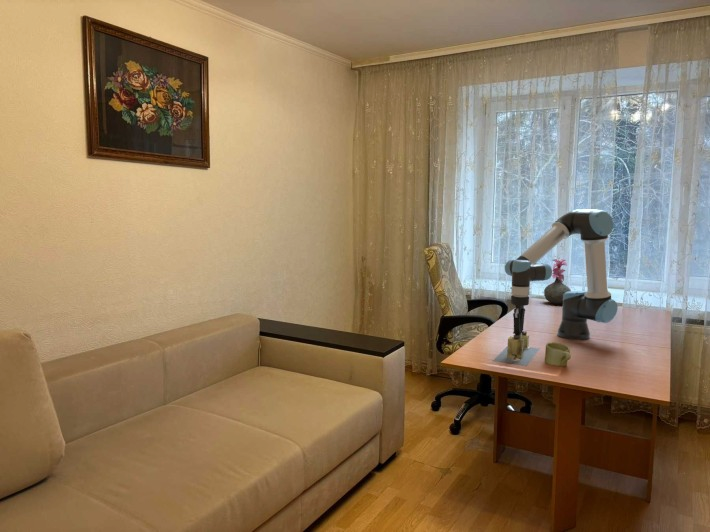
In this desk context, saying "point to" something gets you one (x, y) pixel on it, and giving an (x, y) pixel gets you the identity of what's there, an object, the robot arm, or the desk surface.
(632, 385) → the desk surface
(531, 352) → the board
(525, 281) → the robot arm
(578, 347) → the desk surface
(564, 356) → the mug
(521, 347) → the trammel head
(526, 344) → the rail
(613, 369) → the desk surface
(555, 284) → the vase
